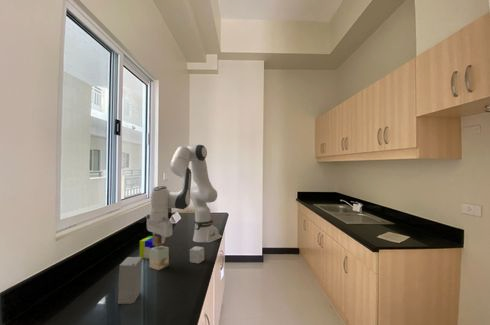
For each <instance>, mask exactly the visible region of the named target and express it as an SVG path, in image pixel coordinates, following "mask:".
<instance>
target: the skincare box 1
mask: <svg viewBox="0 0 490 325" xmlns="http://www.w3.org/2000/svg"><path fill="white" fill-rule="evenodd" d="M142 264H143V258H142V257H140V256H139V257H138V256H127V257H126V258H125V259H124V260H123V261H122V262H121V263H120V264H119V265H118V268H119V269H118V271H119V273H118V294H117V304H118V305H120V304H121V305H125V304H129V305H131V304H132V303H133V304H135V302H136V301H137V299H138V297H139V296H140V293H141V288H142V286H141V283H142V270H143V269H142V267H143V265H142Z"/></svg>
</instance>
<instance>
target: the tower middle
mask: <svg viewBox="0 0 490 325" xmlns="http://www.w3.org/2000/svg"><path fill="white" fill-rule="evenodd" d="M169 250H170V248H169V247H168V246H166V245H164V246H159V247H153V248H151V249H150V250H149V258H148V259H150V258H151V259H154V260H157V261H159V260H161V259H164V258H166V257H169V254H170V253H169V252H170V251H169ZM169 258H170V257H169Z"/></svg>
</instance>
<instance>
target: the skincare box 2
mask: <svg viewBox="0 0 490 325" xmlns="http://www.w3.org/2000/svg"><path fill="white" fill-rule="evenodd" d="M203 261H205V247H203V246H198V245H197V246H196V245H195V246H193V247H192V248H190V249H189V262H190V263H194V264H200V263H202V262H203Z"/></svg>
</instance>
